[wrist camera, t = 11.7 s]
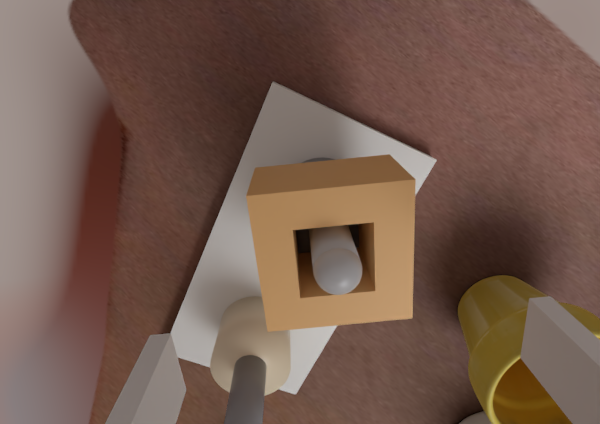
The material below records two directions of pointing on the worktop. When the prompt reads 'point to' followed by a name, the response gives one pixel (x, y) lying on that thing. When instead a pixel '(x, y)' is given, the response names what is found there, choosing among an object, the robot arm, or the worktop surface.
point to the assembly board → (243, 267)
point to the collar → (325, 213)
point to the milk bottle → (476, 419)
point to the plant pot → (508, 351)
